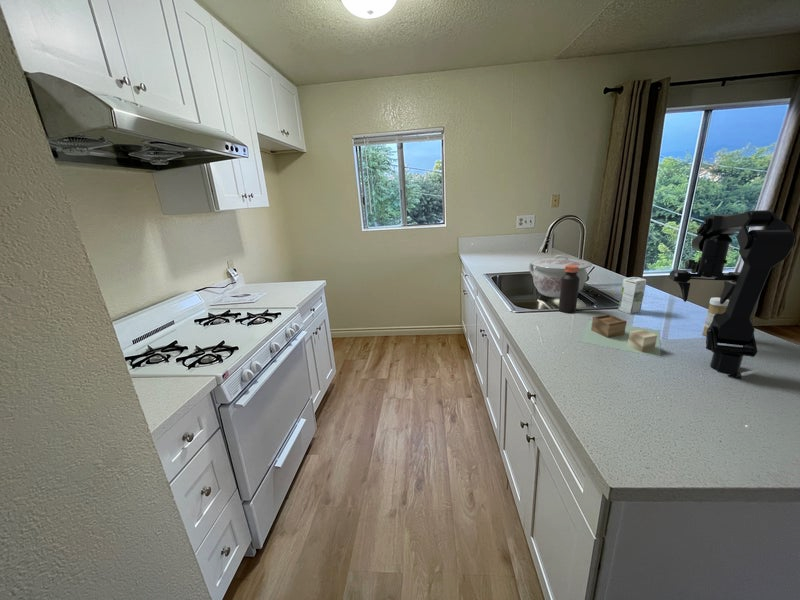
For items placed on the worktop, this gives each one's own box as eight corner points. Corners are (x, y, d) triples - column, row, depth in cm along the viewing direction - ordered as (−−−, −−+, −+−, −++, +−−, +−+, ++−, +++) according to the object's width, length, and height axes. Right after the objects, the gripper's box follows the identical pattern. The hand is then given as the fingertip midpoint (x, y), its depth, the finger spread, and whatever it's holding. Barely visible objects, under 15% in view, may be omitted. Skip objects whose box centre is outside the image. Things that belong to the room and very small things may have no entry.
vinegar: (571, 314, 136) (577, 268, 130) (555, 310, 141) (560, 266, 135) (578, 310, 140) (583, 265, 134) (562, 307, 145) (567, 264, 139)
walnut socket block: (624, 334, 113) (626, 321, 111) (607, 337, 111) (609, 323, 110) (607, 327, 119) (609, 314, 118) (591, 330, 118) (592, 317, 116)
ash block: (654, 349, 102) (657, 335, 100) (641, 351, 101) (644, 337, 99) (639, 343, 106) (642, 329, 105) (627, 345, 105) (629, 331, 104)
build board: (659, 359, 97) (660, 357, 97) (578, 343, 110) (579, 341, 110) (659, 332, 115) (659, 330, 115) (589, 321, 128) (589, 319, 128)
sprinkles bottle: (721, 339, 107) (732, 301, 103) (703, 337, 110) (713, 300, 106) (717, 334, 111) (727, 297, 107) (699, 332, 113) (708, 296, 109)
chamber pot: (597, 303, 147) (603, 259, 141) (534, 303, 152) (538, 260, 146) (576, 286, 174) (580, 249, 167) (523, 287, 179) (526, 250, 172)
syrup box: (627, 308, 139) (632, 276, 135) (640, 312, 134) (647, 279, 129) (617, 310, 138) (622, 277, 133) (630, 314, 132) (636, 280, 128)
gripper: (740, 252, 103) (728, 298, 108) (668, 251, 111) (660, 294, 115) (759, 257, 93) (745, 307, 98) (679, 256, 101) (669, 302, 106)
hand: (702, 302), depth 105 cm, fingers open, 9 cm apart
